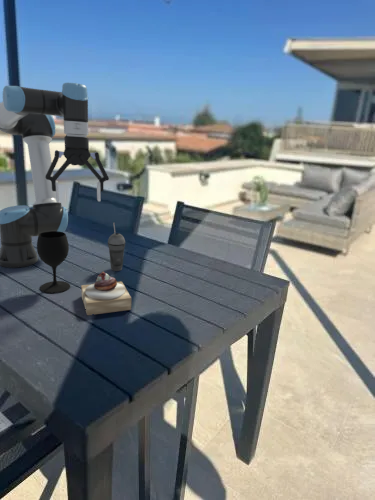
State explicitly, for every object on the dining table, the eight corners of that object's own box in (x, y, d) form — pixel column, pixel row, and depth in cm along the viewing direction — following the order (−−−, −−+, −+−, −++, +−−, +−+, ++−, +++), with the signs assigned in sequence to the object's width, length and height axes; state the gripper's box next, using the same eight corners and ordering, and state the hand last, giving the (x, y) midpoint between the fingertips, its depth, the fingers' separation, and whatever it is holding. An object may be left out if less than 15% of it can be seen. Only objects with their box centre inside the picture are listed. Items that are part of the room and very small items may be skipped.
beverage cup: (121, 273, 144) (121, 226, 138) (104, 270, 145) (104, 224, 139) (127, 267, 151) (128, 222, 145) (111, 265, 152) (111, 220, 146)
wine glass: (41, 295, 120) (37, 239, 114) (38, 284, 129) (34, 231, 123) (72, 291, 125) (70, 237, 119) (67, 280, 134) (65, 229, 128)
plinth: (81, 296, 121) (81, 283, 120) (121, 292, 127) (121, 279, 125) (87, 315, 109) (86, 300, 108) (131, 309, 115) (131, 295, 113)
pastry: (92, 282, 121) (92, 269, 119) (114, 281, 123) (114, 267, 122) (95, 292, 114) (95, 278, 112) (118, 290, 116) (118, 276, 115)
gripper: (34, 133, 105) (39, 203, 112) (117, 138, 115) (117, 202, 121) (34, 133, 112) (38, 199, 118) (112, 137, 122) (112, 198, 128)
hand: (78, 201), depth 120 cm, fingers open, 13 cm apart
